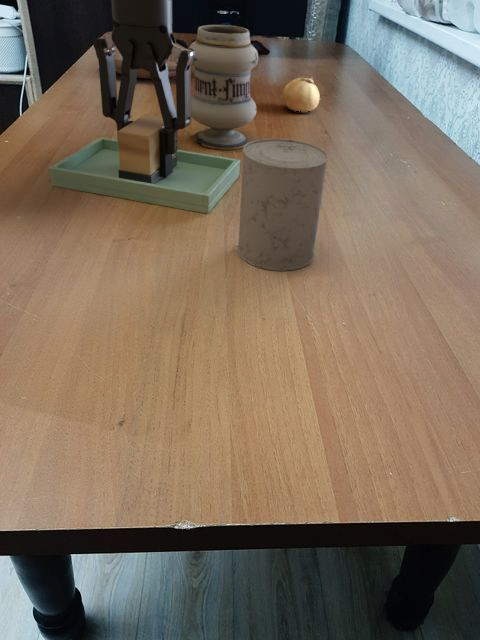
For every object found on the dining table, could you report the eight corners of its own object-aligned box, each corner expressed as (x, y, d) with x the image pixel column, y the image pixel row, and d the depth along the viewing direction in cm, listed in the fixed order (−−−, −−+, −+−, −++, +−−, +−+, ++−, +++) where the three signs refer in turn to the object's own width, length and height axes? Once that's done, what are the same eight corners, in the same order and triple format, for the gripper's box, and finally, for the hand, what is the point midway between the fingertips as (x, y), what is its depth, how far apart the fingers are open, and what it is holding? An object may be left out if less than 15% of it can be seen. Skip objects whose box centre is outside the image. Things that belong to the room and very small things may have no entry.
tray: (51, 185, 81) (48, 167, 80) (101, 152, 93) (100, 136, 92) (208, 214, 78) (208, 195, 76) (239, 176, 90) (240, 159, 88)
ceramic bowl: (111, 60, 149) (109, 38, 146) (201, 68, 149) (201, 47, 146) (86, 79, 130) (83, 55, 127) (188, 89, 131) (188, 65, 128)
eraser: (151, 187, 81) (149, 137, 76) (118, 181, 81) (115, 131, 77) (177, 164, 88) (176, 118, 84) (147, 159, 89) (145, 113, 85)
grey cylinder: (329, 255, 71) (346, 157, 63) (276, 279, 65) (287, 174, 58) (275, 228, 76) (284, 133, 68) (221, 247, 70) (224, 147, 63)
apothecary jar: (174, 137, 103) (171, 23, 92) (223, 127, 110) (227, 20, 99) (218, 156, 96) (222, 37, 85) (268, 144, 103) (277, 32, 93)
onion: (282, 114, 120) (285, 78, 116) (280, 104, 126) (283, 69, 122) (319, 117, 121) (324, 81, 116) (315, 107, 127) (319, 72, 123)
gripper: (219, -7, 72) (214, 172, 86) (89, -23, 75) (104, 154, 89) (200, -2, 66) (197, 190, 81) (59, -19, 69) (81, 169, 83)
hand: (149, 170), depth 85 cm, fingers closed on eraser, 5 cm apart
